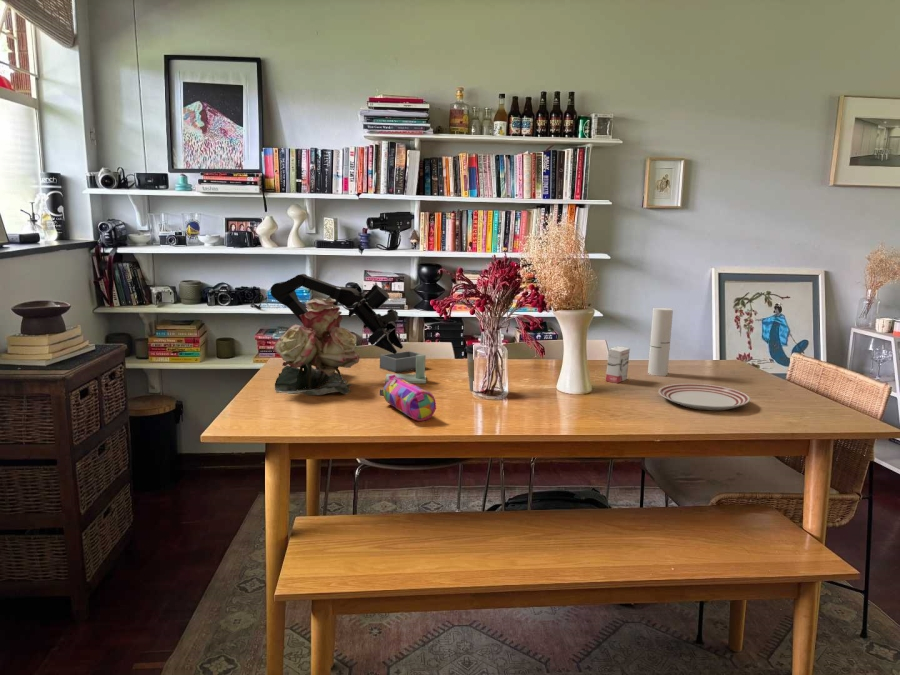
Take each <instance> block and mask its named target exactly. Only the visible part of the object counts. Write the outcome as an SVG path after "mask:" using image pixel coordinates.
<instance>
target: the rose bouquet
mask: <svg viewBox="0 0 900 675" xmlns="http://www.w3.org/2000/svg"><path fill="white" fill-rule="evenodd" d="M336 302H337V301H336V300H335V299H334V298H332V297H330V296H329V297H328V298H327V299H326V298H323V297H313V298H312V299H311V300H308V301H306V302H304V305H305V308H306V309H307V310H308V312H307V313H306V314H301V315H299V316H300V317H301V319H302V322H303V324H302V325H299V324H293V325H291V326H290V327H289V328H288V329H287V330H286V331H285V332H284V333H283V334H282V335H280V336H279V337H278V339H277V341H276V342H275V344H274V346H273V349H272V350H273V352H274V353H277V354H278V355H279V356H280V358H281V359H282V360H283V361H284V362H282V366H283V368H282V369H281V372H280V373H278V377H277V378H276V379H275V383H274V390H275V392H276V393H280V394H287V395H288V394H289V395H290V394H304V395H307V396H323V395H326V394H332V393H341V394H343V395H348V394H349V393H351V390H350V386H352V385H354V383H348V384H347V382H348V380H347V379H344V378H343V376H342V374H341V372H340V370H339V368H349V369H351V367H352V366H355V365H356V364H358V363H359V362H360V355H359V352H355V349H356V348H357V345H356V344H357V342H358V341H357V340H358V338H357V336H356V334H354V333H352V332H351V330H349V329H347V328H345V327H341V325H340V324H341V322H342V320H343V315H341V314H342V311H340V310H341V307H340V306H338V305H335V304H334V303H336ZM302 322H301V323H302ZM335 372H336V373H338V374H336V373H335Z"/></svg>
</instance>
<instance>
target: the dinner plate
mask: <svg viewBox="0 0 900 675" xmlns="http://www.w3.org/2000/svg"><path fill="white" fill-rule="evenodd" d="M658 394H659V395H660V396H661V397H663V398H665V399H666V400H668V401H670V402H673V403H675V404H677V405H679V404H680V406H682V405H683V406H682V407H685V406H687V407H686V408H689V407H691V408H690V409H694V408H696V409H695V410H701V409H705V410H704V411H727V410H731V409H735V408H736V409H737V408H739V407H742V406H745V405H746V404H749V402H750V401H751V398H750V396H749V395H747V394H746V393H744V392H741V391H740V390H738V389H737V390H736V389H733V388H729V387H725V386H719V385H713V384H707V383H706V384H704V383H674V384H668V385H664V386H663V387H660V388H659V389H658ZM726 409H727V410H726Z"/></svg>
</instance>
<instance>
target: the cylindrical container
mask: <svg viewBox="0 0 900 675" xmlns="http://www.w3.org/2000/svg"><path fill="white" fill-rule="evenodd" d="M673 312H674V309H673V308H669V307H653V308H652V318H651V327H650V328H651V329H650V331H651V332H650V340H649V341H650V342H649V344H650V345H649V353H648V354H649V356H648V366H647V367H648V368H647V374H648V373H649V374H648V375H650V374H651V375H650V376H654V375H656V376H655V377H666V375H667V376H668V370H669V360H670V349H671V348H670V347H671V337H672V328H673V327H672V325H673Z"/></svg>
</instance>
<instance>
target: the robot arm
mask: <svg viewBox="0 0 900 675" xmlns="http://www.w3.org/2000/svg"><path fill="white" fill-rule="evenodd" d="M300 288H306V289H309V290H310V291H311V290H312V291H314V292H317V293H319V294H323V295H325V296H328V297H329V298H330V297H331V299H335V300H336V302H338V303H339V304H342V305H343V306H345V307H352V306H354V305H355V306H354V307H353V308H348V317H349V318H351V317H353V316H354V315H355V316H356V317H357V319H359V321H361V323H362V324H363V328H364V329H368V330H369V331H370V332H371V335H369V337H368V338H367V339H368V341H367V342H368V343H369V344H370V345H371V346H375V347H377V348H380V349H383V350H385V351H387V352H389V353H390V354H391V353H394V354H396V353H398V351H397V349H396V348H398V349H400V350H402V349H403V348H404V346H403V343H402V342H401V340H400V338H399V337H398V334H397V329H398V327H397V324H396V322H395V321H397V320H399V319H400V317H399V312H398V311H397V310H396V309H395V310H394V308H390V309H388V310H387V311H386V313H385V314H384V315H381V313H376V311H374V309H379V308H381V307H382V306H383V305H384V304H385V303H386V302H387V301H388V300H389V299H390V295H389V294H388V292H387V291H386V290H385V289H383V288H382V287H380V286H379V285H378V284H373V286H372V287H371V288H370V289H369V291H368V292H366V293H364V292H360V291H359V290H357V289H356V288H353V287H347V286H337V285H334V284H332V283H329V282H326V281H323V280H321V279H317V278H315V277H312V276H309V275H307V274H305V273H301V274H297V275H295V276H294V277H292V278H290V279H288V280H285V281H281V282H277V283H274V284H272V286H271V287H270V293H269V294H270V295H271V296H272V298H274V300H276V301H277V302H278V303H279V304H282V305H284V307H287V308H288V309H289V310H290V311H291V312H292V313H293V315H294V316H295V317H296V318H297V319H298V320H299V321H300V322H301V324H302V325H303V322H302V319H301V317H300V316H299V315H301V314H306V313H307V312H308V309H307V307H306V305H305V304H303V303H302V302H301V301H300V300H299V298H298V295H297V293H296V291H297V290H298V289H300ZM362 301H363V302H362ZM360 302H362V303H360ZM395 347H396V348H395ZM335 373H336V374H338V373H337V371H335ZM338 375H339V374H338Z"/></svg>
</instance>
